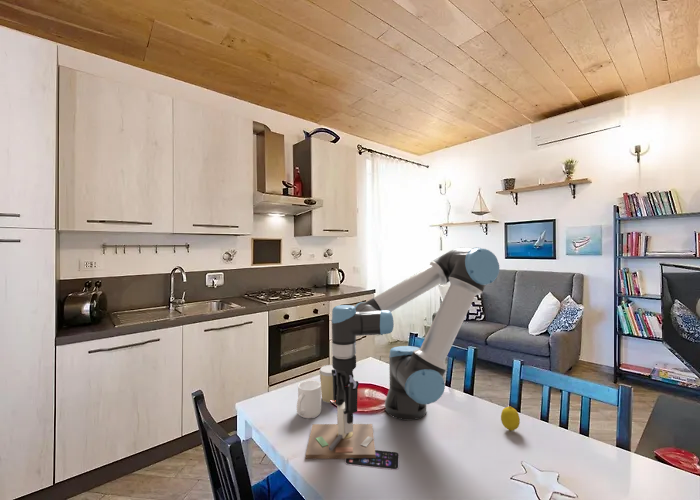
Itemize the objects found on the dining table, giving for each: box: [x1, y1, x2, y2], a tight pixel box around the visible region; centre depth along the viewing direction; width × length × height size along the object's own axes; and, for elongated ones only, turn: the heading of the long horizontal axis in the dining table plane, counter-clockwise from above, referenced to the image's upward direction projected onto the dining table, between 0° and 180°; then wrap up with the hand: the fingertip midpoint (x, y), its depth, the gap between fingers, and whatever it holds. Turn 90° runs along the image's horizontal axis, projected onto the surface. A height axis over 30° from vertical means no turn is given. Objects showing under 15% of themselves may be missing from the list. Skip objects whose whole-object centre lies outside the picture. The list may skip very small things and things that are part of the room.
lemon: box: [500, 405, 521, 432], centre depth 108 cm, size 6×6×8 cm
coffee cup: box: [319, 364, 334, 404], centre depth 131 cm, size 9×9×12 cm
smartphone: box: [344, 449, 400, 471], centre depth 95 cm, size 8×1×15 cm
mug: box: [296, 380, 322, 419], centre depth 119 cm, size 12×8×10 cm
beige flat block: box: [329, 402, 349, 451], centre depth 101 cm, size 2×13×9 cm, turn 156°
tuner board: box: [305, 423, 376, 460], centre depth 102 cm, size 20×16×1 cm
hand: (345, 428), depth 104 cm, fingers closed on beige flat block, 4 cm apart
